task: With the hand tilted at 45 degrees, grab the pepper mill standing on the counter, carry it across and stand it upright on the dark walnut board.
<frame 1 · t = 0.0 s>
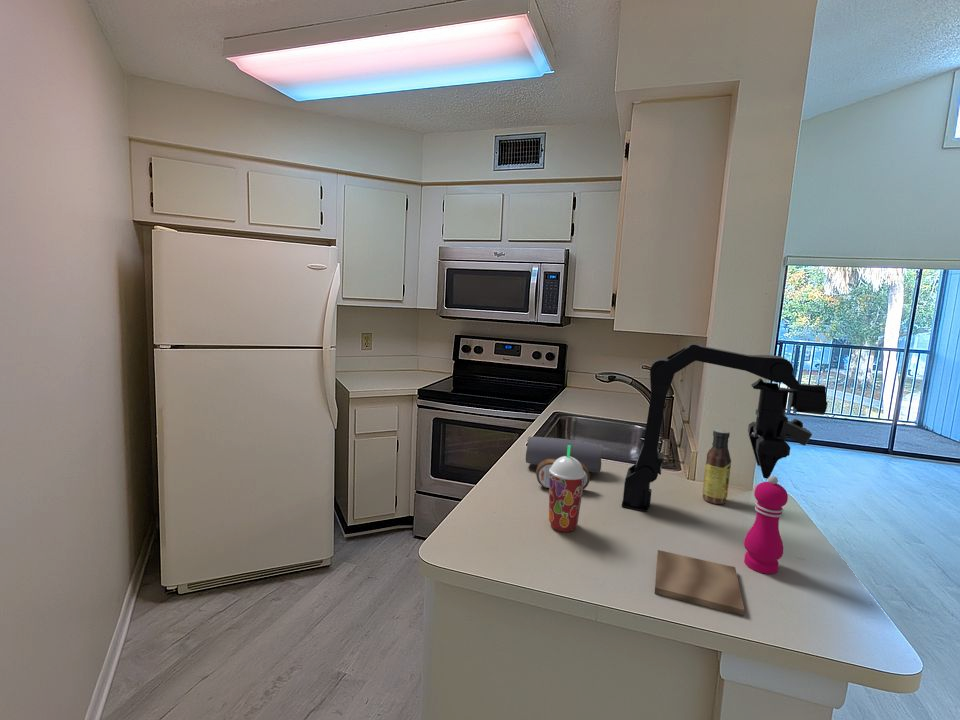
hand: (762, 471, 120), 15 cm above the counter, tool pointing down, fingers open, 9 cm apart
smoothie: (562, 527, 118), on the counter
tin: (561, 490, 140), on the counter
sauce bottle: (713, 501, 138), on the counter
pepper mill: (760, 566, 105), on the counter
walnut board: (696, 582, 98), on the counter
bluetooth speaker: (562, 471, 155), on the counter
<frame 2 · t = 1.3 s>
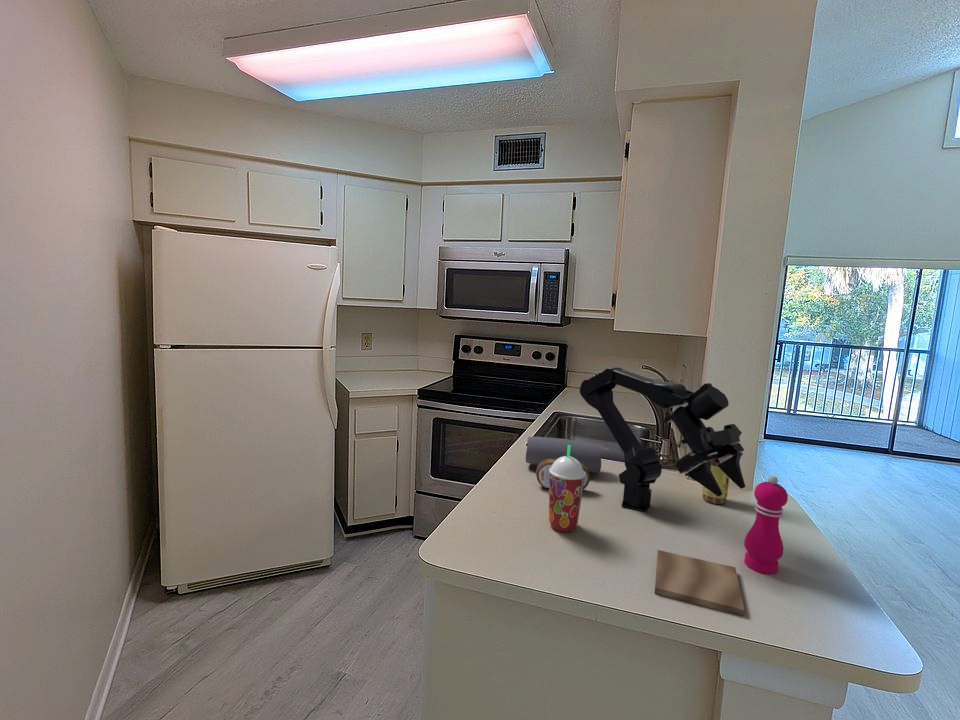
hand: (732, 491, 110), 13 cm above the counter, tool tilted 45°, fingers open, 9 cm apart
nothing on the counter moved.
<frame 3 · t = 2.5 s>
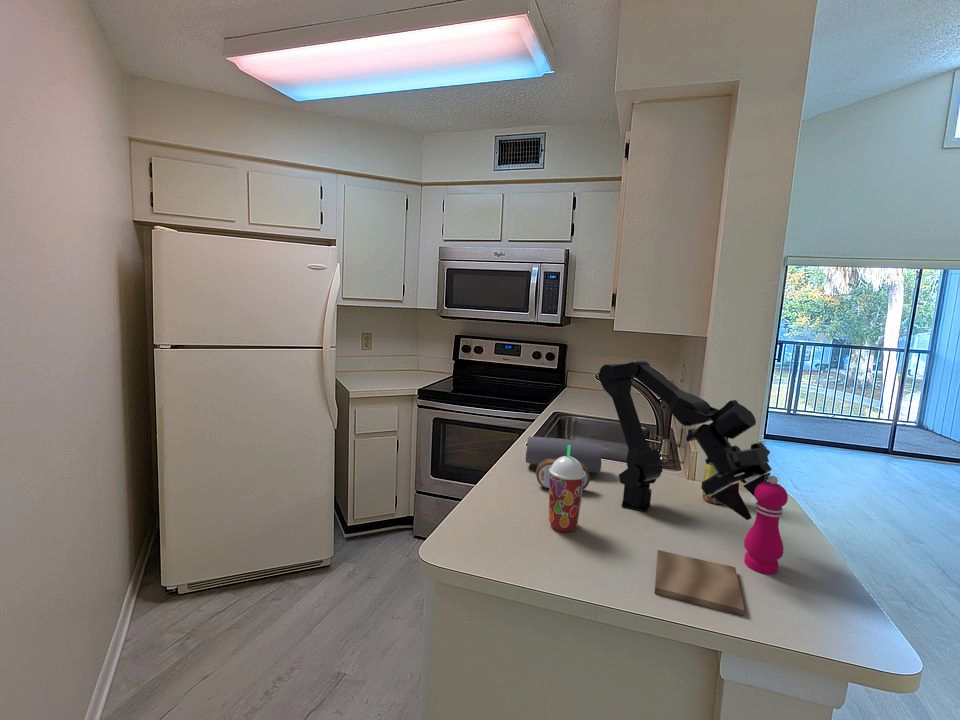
hand: (761, 514, 104), 11 cm above the counter, tool tilted 45°, fingers open, 9 cm apart
nothing on the counter moved.
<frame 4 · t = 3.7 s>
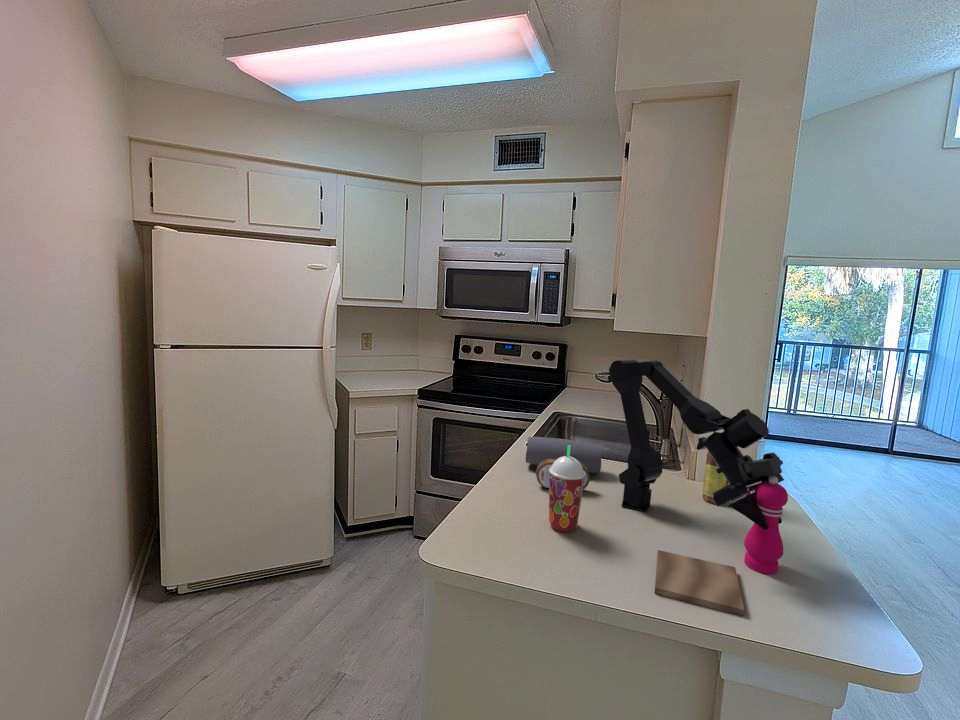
hand: (773, 526, 102), 10 cm above the counter, tool tilted 45°, fingers closed on pepper mill, 5 cm apart
pepper mill: (760, 566, 105), on the counter, touching gripper
everything else where it was.
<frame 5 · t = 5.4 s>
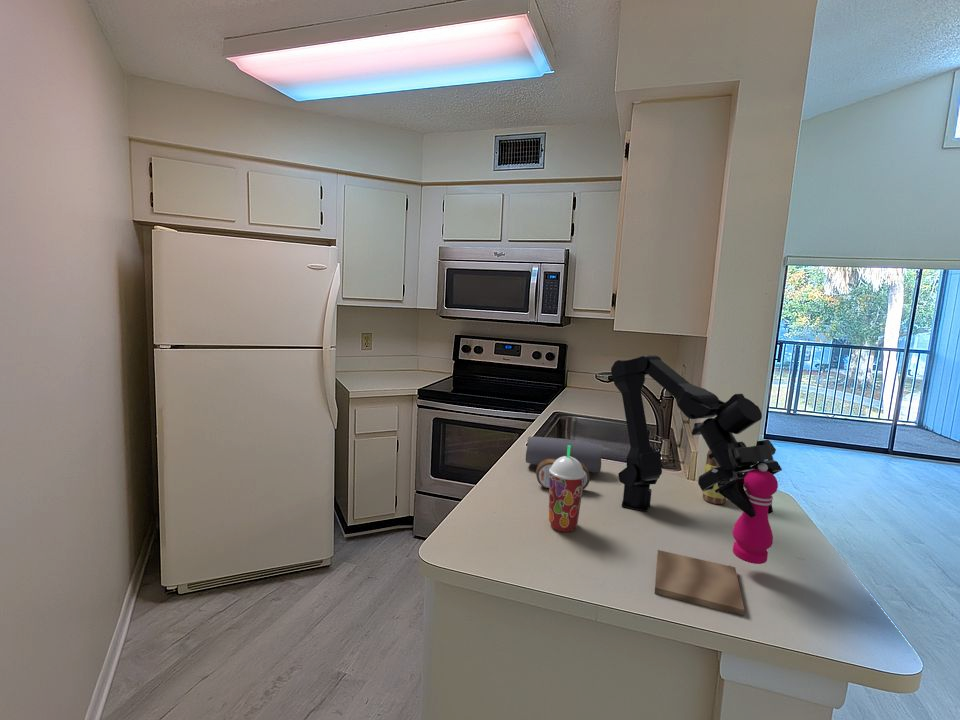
hand: (762, 514, 99), 13 cm above the counter, tool tilted 45°, fingers closed on pepper mill, 5 cm apart
pepper mill: (749, 556, 102), point 3 cm above the counter, touching gripper
everything else where it was.
when the fingers open (12 cm above the counter, at t = 7.2 s): pepper mill stays where it is, resting on walnut board.
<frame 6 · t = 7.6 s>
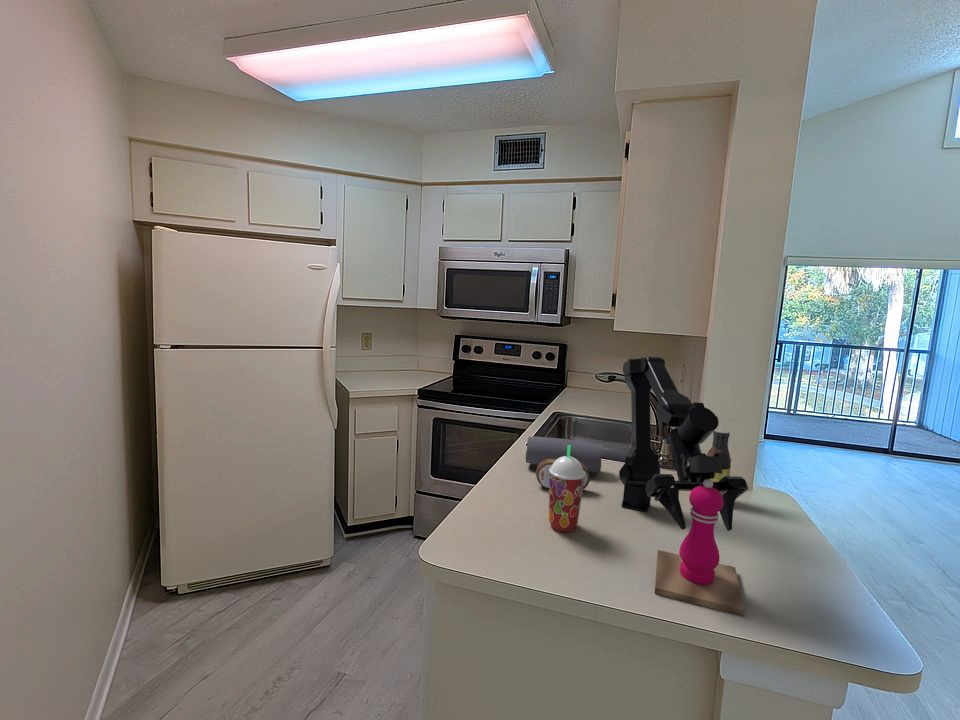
hand: (706, 529, 95), 12 cm above the counter, tool tilted 45°, fingers open, 9 cm apart
pepper mill: (696, 576, 98), point 1 cm above the counter, touching walnut board
everything else where it was.
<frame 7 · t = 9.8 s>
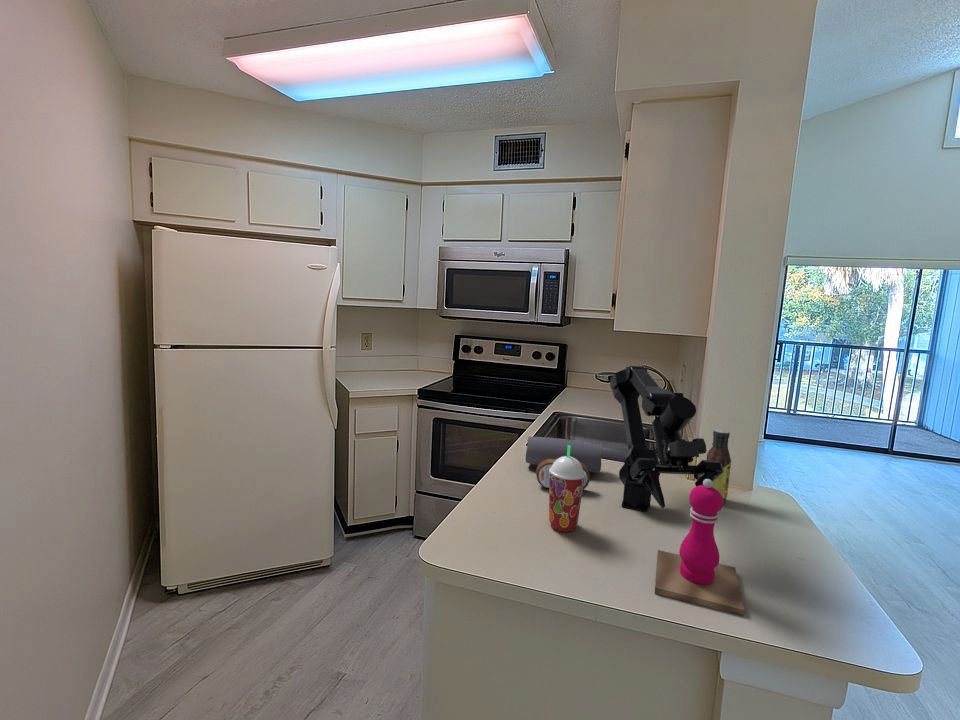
hand: (684, 508, 104), 12 cm above the counter, tool tilted 45°, fingers open, 9 cm apart
nothing on the counter moved.
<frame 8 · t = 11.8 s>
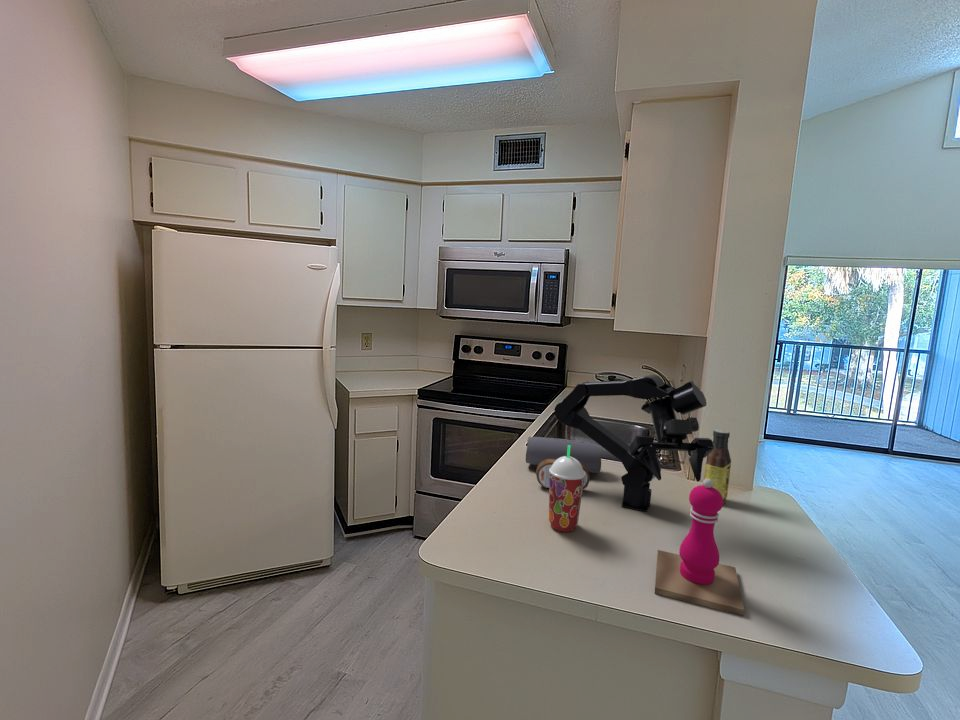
hand: (679, 480, 115), 14 cm above the counter, tool tilted 45°, fingers open, 9 cm apart
nothing on the counter moved.
at the end: pepper mill inside the target area on the walnut board (0.5 cm from its centre), point 1.0 cm above the walnut board's base; pepper mill tilted 0°; the gripper is holding nothing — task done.
